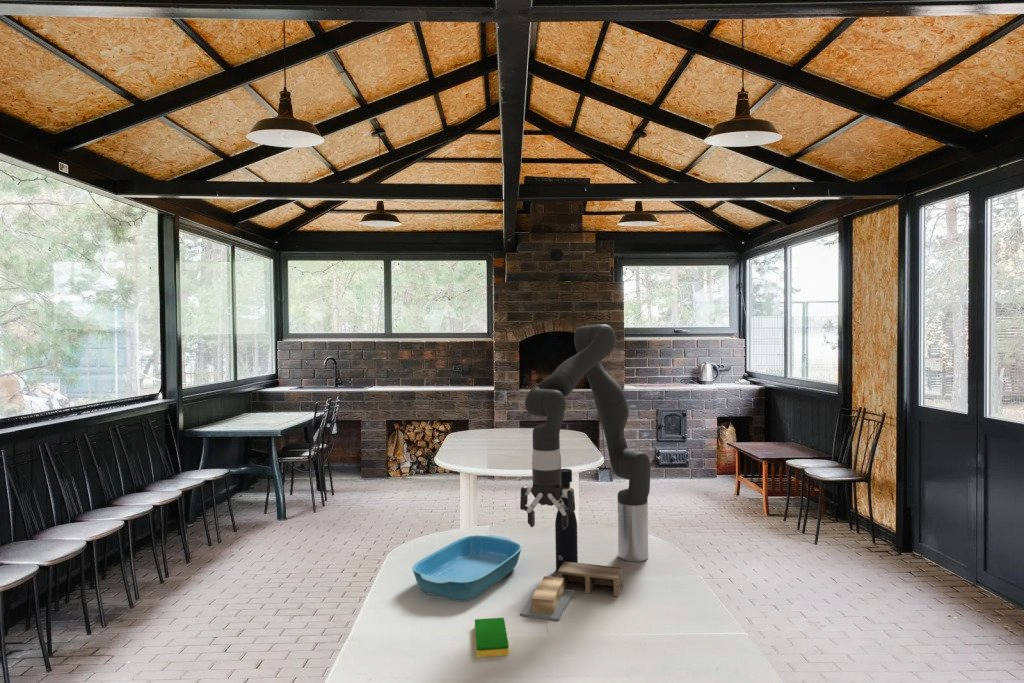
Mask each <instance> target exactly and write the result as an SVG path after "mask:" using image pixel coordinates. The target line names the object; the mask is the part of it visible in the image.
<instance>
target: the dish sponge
mask: <svg viewBox="0 0 1024 683" xmlns="http://www.w3.org/2000/svg"><path fill="white" fill-rule="evenodd" d="M505 622H506V621H505V618H504V617H490V618H476V619H474V632H475V633H474V634H475V635H474V636H475V648H476V651H475V652H476V657H477V658H485V657H500V656H501V657H502V655H503V656H508V654H510V650H509V649H510V648H509V647H510V646H509V645H510V644H509V640H508V633H507V627H506V623H505Z"/></svg>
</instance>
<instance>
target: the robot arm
mask: <svg viewBox="0 0 1024 683" xmlns="http://www.w3.org/2000/svg"><path fill="white" fill-rule="evenodd" d="M616 337H617V336H616V333H615V330H614V329H613V327H611V325H608V324H604V323H603V324H602V323H601V324H590V325H583V326H578V327H577V328H576V329H575V331H574V336H573V339H574V340H573V341H574V347H575V350H576V354H574V355H572V356H571V357H569V358H567V359H565V360H564V361H563V362H561V363H560V364H559V365H558V366H557V367H556V369H555V370H554V371H553V372H552V373H551V374H550V376H549V377H547V378H545V379H543V380H542V381H541V382H539V383H537V384H536V385H535V386H533V387H532V388H531V389H530V390H529V391H528V393H527V394H526V397H525V399H524V406H525V410H526V411H527V413H528V414H530V415H532V416H535V417H536V416H539V417H546V421H545V423H544V424H539V425H536V426H535V427H533V429H532V453H531V469H532V470H531V471H532V486H528V485H526V484H525V485H524V486H522V487H521V488H520V504H519V508H520V510H521V511H525V512H526V513H527V524H528V525H529V526H530V527H531V528H534V526H536V525H535V524H536V521H535V520H536V517H535V516H536V514H535V513H536V512H535V510H534V509H535V508H536V507H537V505H538V504H540V506H546V505H547V506H552V507H553V506H555V508H556V509H557V511H558V510H559V511H560V512H561V514H562V516H561V526H562V530H565V529H566V528H567V526H568V514H572V513H573V512H575V511H576V502H575V501H576V499H575V489H574V488H571V487H570V488H569V490H563V488H562V485H561V469H562V456H561V449H560V448H561V443H560V442H561V441H560V434H561V432H560V431H561V428H562V423H563V419H564V415H565V411H566V407H567V406H566V404H567V402H566V397H568V396H569V395H570V394H571V393H572V391H573V390H574V389H575V388H576V386H577V385H578V384H579V382H580V381H581V380H582V379H583V378H584V377H585V375H586V378H587V381H588V383H589V386H590V389H591V394H592V396H593V400H594V404H595V408H596V411H597V414H598V416H599V421H600V423H601V426H602V430H603V433H604V437H605V441H606V445H607V446H606V447H607V450H608V451H607V452H608V457H609V463H610V466H611V469H612V472H613V474H615V476H617V477H618V478H621V479H624V480H628V488H625V489H624V488H623V489H620V490H619V491H618V492H617V539H618V540H617V544H618V545H617V554H618V555H617V556H618V557H619V558H620V559H621V560H623V561H628V562H643V561H646V560H648V559H649V516H648V514H649V512H648V511H649V510H648V509H649V508H648V507H649V506H648V504H649V503H648V501H649V500H648V499H649V498H648V497H649V494H650V491H651V490H650V489H651V468H652V467H651V460H650V457H649V455H648V454H647V453H646V452H643V451H639V450H634V449H629V447H628V444H627V441H626V438H625V428H626V424H627V422H628V420H629V419H628V418H629V412H630V411H629V406H628V402H627V399H626V396H625V392H624V390H623V388H622V387H621V385H620V384H618V382H617V381H616V380H615V379H614V378H613V377H612V376H611V375H610V374H609V373H608V372H607V370H605V368H604V367H603V365H602V363H601V361H603V360H604V359H605V358H606V357H608V356H609V355H610V354H611V353H612V352H613V350H614V349H615V346H616V341H617V340H616V339H617V338H616ZM530 494H531V495H533V497H534V499H533V500H532V502H531V503H530V504H528V500H529V499H528V498H529V497H528V496H529V495H530ZM562 494H564V495H565V497H566V498H568V508H567V507H566V506H565V504H564V502H563V501H562V499H561V498H560V497H561V496H562Z"/></svg>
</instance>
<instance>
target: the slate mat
mask: <svg viewBox="0 0 1024 683" xmlns="http://www.w3.org/2000/svg"><path fill="white" fill-rule="evenodd" d="M533 595H534V593H533V594H532V595H531V597H530V598H529V599H528V601H527V602H526V604H525V605H524V607H523V608H522V610H521V611H520V612H519V616H522V617H530V618H535V619H542V620H548V619H550V621H555V620H556V622H559V621H560V619H561V617H562V616H563V614H564V612H565V610H566V608H567V607H566V606H568V605H567V604H569V603H570V601H571V599H572V598H571V597H573V596H572V595H575V590H574V589H566V588H564V592H563V594H562V596H561V599H560V601H559V603H558V605H557V607H556V609H555V611H554V614H546V613H537V612H532V597H533ZM563 611H564V612H563ZM562 613H563V614H562Z"/></svg>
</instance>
